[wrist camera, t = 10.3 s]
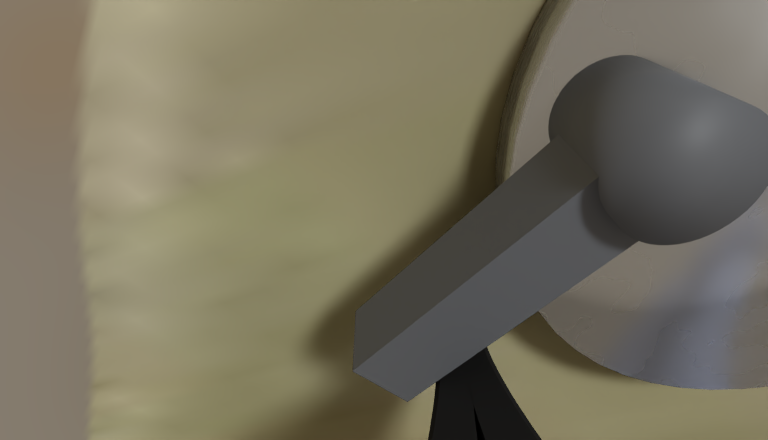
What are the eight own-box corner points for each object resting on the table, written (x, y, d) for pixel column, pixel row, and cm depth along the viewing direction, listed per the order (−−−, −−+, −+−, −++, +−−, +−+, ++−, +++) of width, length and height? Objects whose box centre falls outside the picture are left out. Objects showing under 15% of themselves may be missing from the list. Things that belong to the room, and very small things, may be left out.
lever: (628, 26, 8) (733, 62, 6) (692, 111, 9) (807, 173, 7) (344, 286, 11) (336, 379, 9) (412, 330, 12) (422, 425, 10)
